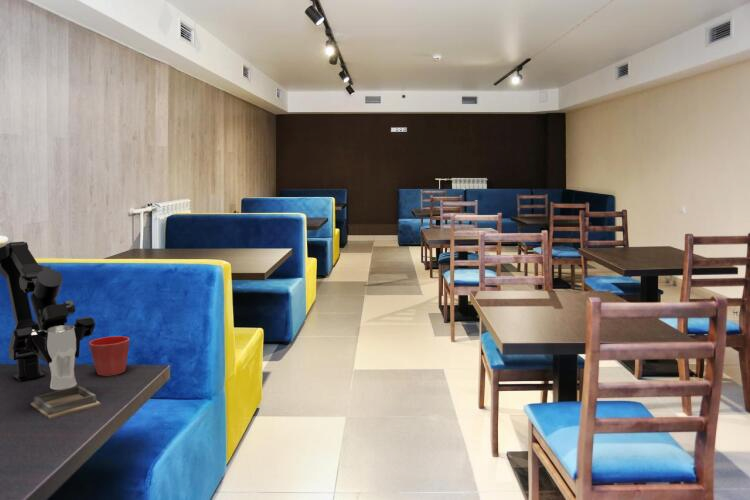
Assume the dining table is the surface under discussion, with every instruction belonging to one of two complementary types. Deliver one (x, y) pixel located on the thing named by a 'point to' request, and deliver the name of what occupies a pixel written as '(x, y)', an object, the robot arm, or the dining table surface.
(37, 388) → the dining table surface
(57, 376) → the beer glass
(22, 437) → the dining table surface
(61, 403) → the tray
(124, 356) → the flower pot
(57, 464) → the dining table surface
